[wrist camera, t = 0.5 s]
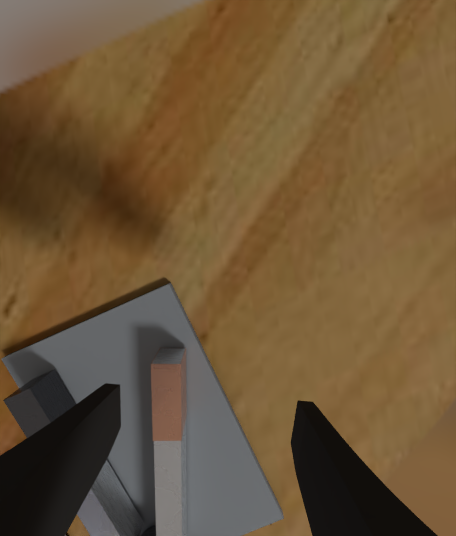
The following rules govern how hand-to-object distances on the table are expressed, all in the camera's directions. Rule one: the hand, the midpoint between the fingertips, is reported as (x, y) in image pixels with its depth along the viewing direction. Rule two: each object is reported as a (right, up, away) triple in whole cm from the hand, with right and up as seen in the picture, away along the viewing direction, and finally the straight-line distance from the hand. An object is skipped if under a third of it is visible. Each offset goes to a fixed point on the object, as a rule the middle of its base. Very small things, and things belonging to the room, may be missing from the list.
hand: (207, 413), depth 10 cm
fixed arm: (-11, -10, +11) cm, 18 cm away
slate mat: (-6, -9, +12) cm, 16 cm away
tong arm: (-5, -11, +11) cm, 16 cm away
